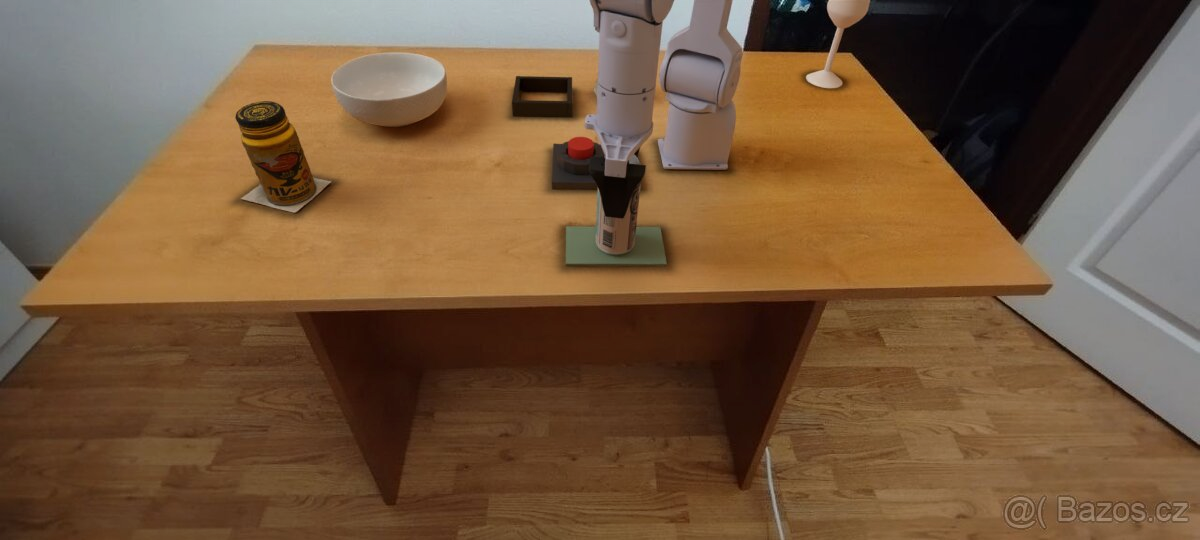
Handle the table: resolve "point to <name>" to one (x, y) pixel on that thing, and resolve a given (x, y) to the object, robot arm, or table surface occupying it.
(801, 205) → the table surface
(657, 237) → the mat
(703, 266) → the table surface
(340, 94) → the cereal bowl
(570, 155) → the button
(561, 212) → the table surface
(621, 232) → the beer can
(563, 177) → the control block
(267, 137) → the condiment
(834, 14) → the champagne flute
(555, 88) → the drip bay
